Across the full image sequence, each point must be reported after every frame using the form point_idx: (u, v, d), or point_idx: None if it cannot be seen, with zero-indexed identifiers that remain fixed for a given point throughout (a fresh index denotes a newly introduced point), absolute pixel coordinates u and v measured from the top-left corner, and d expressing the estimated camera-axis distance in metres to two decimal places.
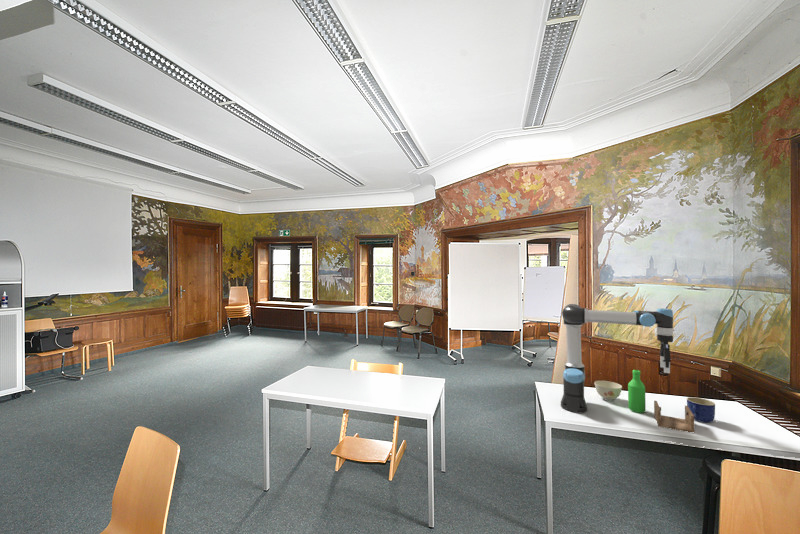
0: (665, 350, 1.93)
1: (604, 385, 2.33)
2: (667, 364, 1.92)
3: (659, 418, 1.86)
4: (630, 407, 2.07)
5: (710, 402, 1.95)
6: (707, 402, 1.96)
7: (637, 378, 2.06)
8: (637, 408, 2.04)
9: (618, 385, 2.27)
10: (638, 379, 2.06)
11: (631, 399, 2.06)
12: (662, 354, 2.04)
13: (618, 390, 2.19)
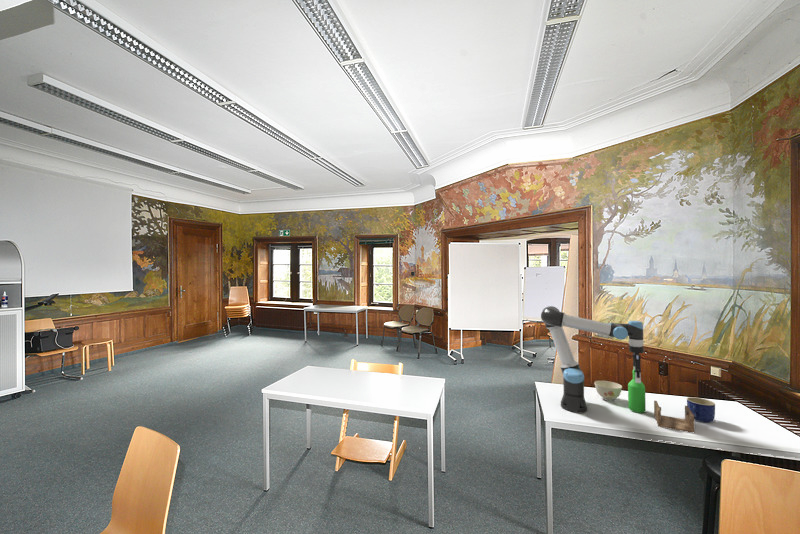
0: (636, 361, 2.02)
1: (604, 385, 2.33)
2: (638, 374, 2.01)
3: (659, 418, 1.86)
4: (630, 407, 2.07)
5: (710, 402, 1.95)
6: (707, 402, 1.96)
7: None
8: (637, 408, 2.04)
9: (618, 385, 2.27)
10: None
11: (631, 399, 2.06)
12: (635, 364, 2.13)
13: (618, 390, 2.19)
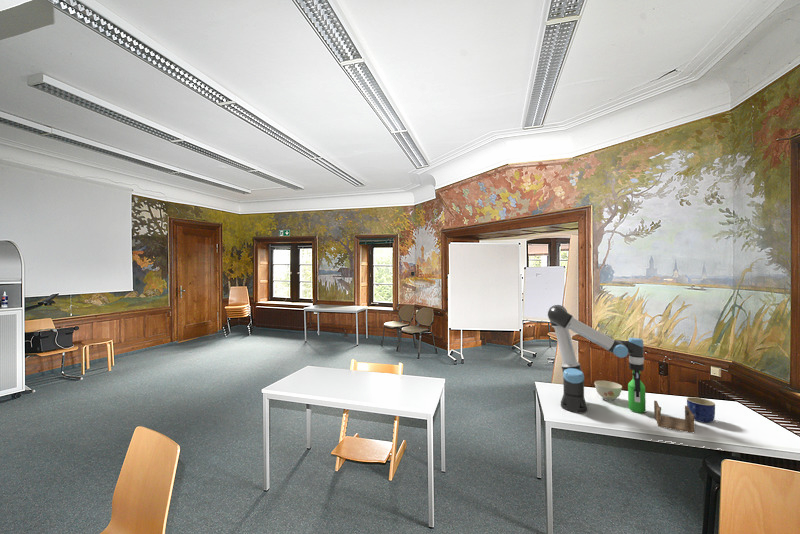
0: (636, 380, 2.02)
1: (604, 385, 2.33)
2: (637, 394, 2.02)
3: (659, 418, 1.86)
4: (630, 407, 2.07)
5: (710, 402, 1.95)
6: (707, 402, 1.96)
7: None
8: (637, 408, 2.04)
9: (618, 385, 2.27)
10: None
11: (631, 399, 2.06)
12: None
13: (618, 390, 2.19)
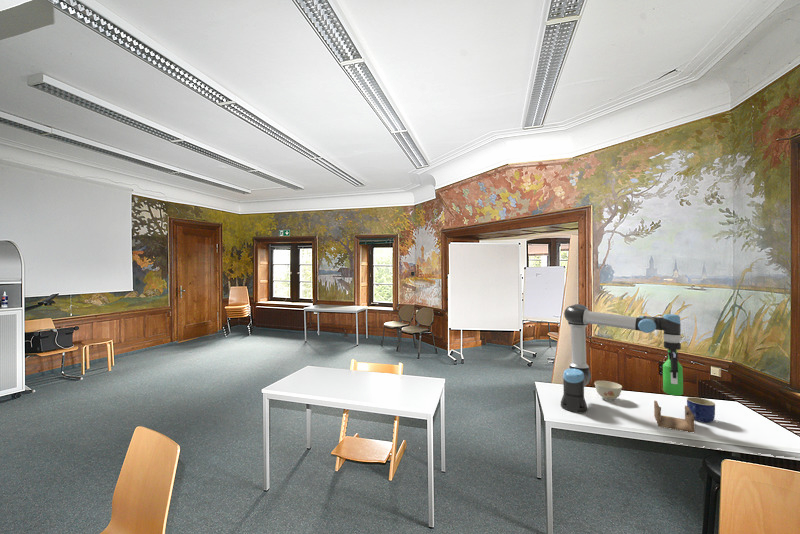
0: (672, 360, 1.84)
1: (604, 385, 2.33)
2: (674, 375, 1.84)
3: (659, 418, 1.86)
4: (666, 390, 1.89)
5: (710, 402, 1.95)
6: (707, 402, 1.96)
7: None
8: (674, 390, 1.85)
9: (618, 385, 2.27)
10: None
11: (667, 381, 1.88)
12: None
13: (618, 390, 2.19)
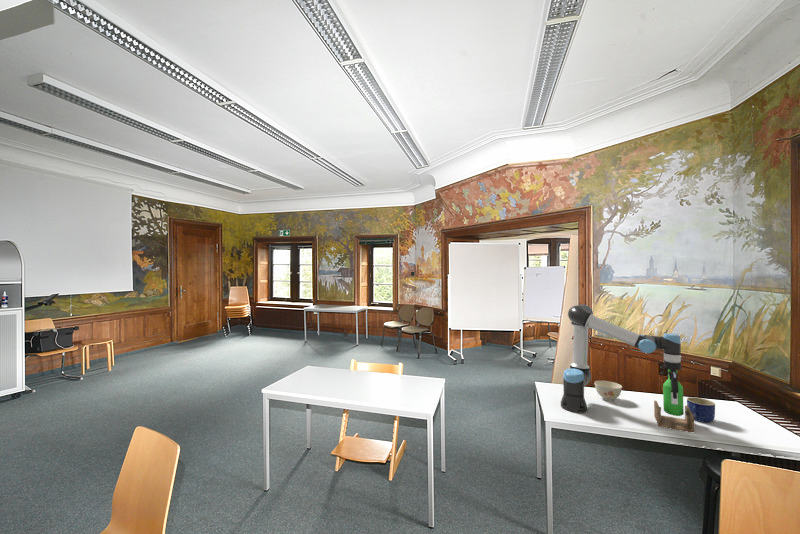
0: (673, 380, 1.84)
1: (604, 385, 2.33)
2: (675, 395, 1.84)
3: (659, 418, 1.86)
4: (666, 410, 1.88)
5: (710, 402, 1.95)
6: (707, 402, 1.96)
7: None
8: (674, 411, 1.85)
9: (618, 385, 2.27)
10: None
11: (667, 401, 1.88)
12: None
13: (618, 390, 2.19)
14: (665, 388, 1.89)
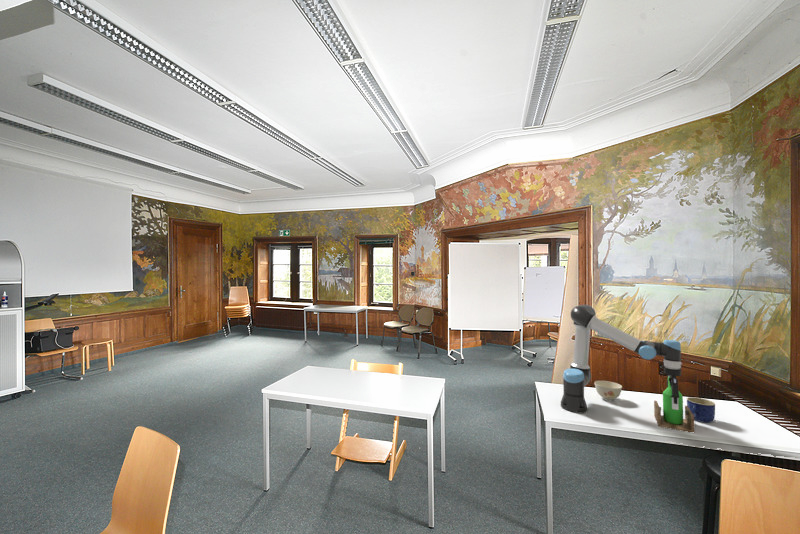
0: (673, 385, 1.83)
1: (604, 385, 2.33)
2: (675, 400, 1.82)
3: (659, 418, 1.86)
4: (666, 418, 1.88)
5: (710, 402, 1.95)
6: (707, 402, 1.96)
7: None
8: (674, 419, 1.85)
9: (618, 385, 2.27)
10: None
11: (667, 409, 1.88)
12: None
13: (618, 390, 2.19)
14: (665, 396, 1.89)
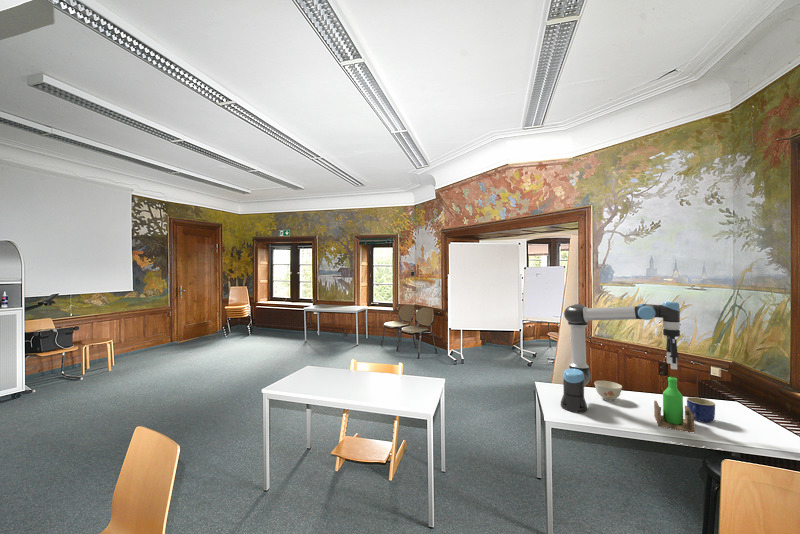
0: (672, 345, 1.84)
1: (604, 385, 2.33)
2: (674, 360, 1.83)
3: (659, 418, 1.86)
4: (666, 418, 1.88)
5: (710, 402, 1.95)
6: (707, 402, 1.96)
7: (674, 386, 1.88)
8: (674, 419, 1.85)
9: (618, 385, 2.27)
10: (675, 387, 1.87)
11: (667, 409, 1.88)
12: (669, 350, 1.96)
13: (618, 390, 2.19)
14: (665, 396, 1.89)
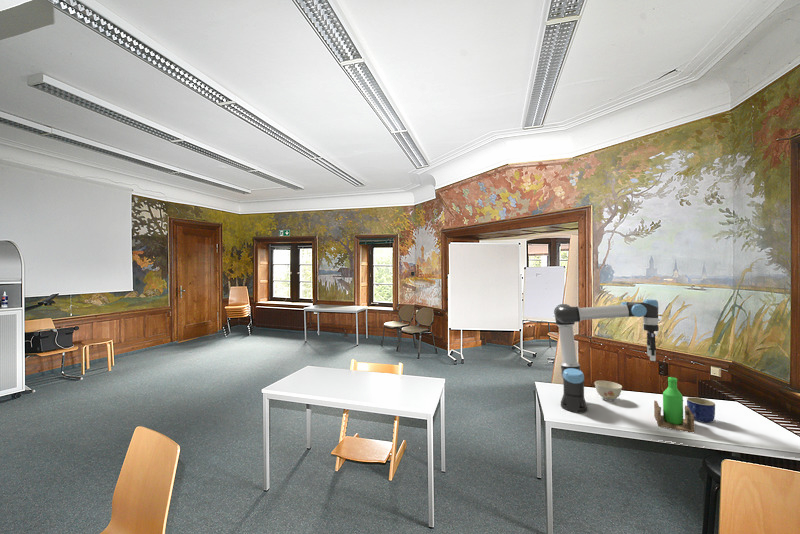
0: (651, 339, 2.01)
1: (604, 385, 2.33)
2: (653, 352, 2.00)
3: (659, 418, 1.86)
4: (666, 418, 1.88)
5: (710, 402, 1.95)
6: (707, 402, 1.96)
7: (674, 386, 1.88)
8: (674, 419, 1.85)
9: (618, 385, 2.27)
10: (675, 387, 1.87)
11: (667, 409, 1.88)
12: (649, 343, 2.13)
13: (618, 390, 2.19)
14: (665, 396, 1.89)
